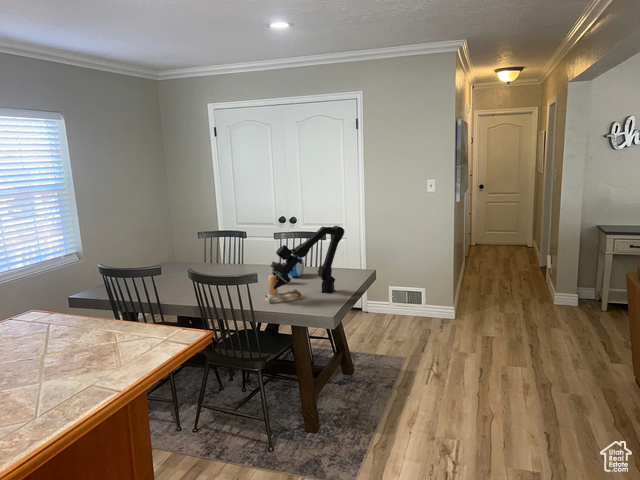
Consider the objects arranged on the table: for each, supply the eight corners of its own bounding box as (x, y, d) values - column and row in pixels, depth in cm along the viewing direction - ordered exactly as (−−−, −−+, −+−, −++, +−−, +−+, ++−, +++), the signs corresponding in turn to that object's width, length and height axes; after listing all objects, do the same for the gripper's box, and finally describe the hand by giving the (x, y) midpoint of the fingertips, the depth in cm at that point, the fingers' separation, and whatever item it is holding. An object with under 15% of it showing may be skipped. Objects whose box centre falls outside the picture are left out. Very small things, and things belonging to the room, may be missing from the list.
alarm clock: (296, 279, 304) (295, 256, 302) (287, 278, 307) (286, 256, 304) (304, 274, 316) (303, 252, 313) (296, 273, 318) (295, 252, 316)
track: (297, 294, 271) (297, 289, 270) (302, 298, 263) (302, 293, 262) (265, 299, 264) (264, 294, 264) (269, 303, 256) (268, 298, 255)
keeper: (277, 295, 265) (276, 274, 263) (280, 298, 260) (279, 276, 257) (267, 297, 263) (265, 275, 261) (270, 300, 257) (268, 278, 255)
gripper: (274, 253, 267) (256, 274, 265) (283, 259, 250) (265, 282, 248) (288, 265, 271) (271, 285, 269) (298, 271, 254) (280, 294, 252)
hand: (271, 286), depth 260 cm, fingers open, 9 cm apart
